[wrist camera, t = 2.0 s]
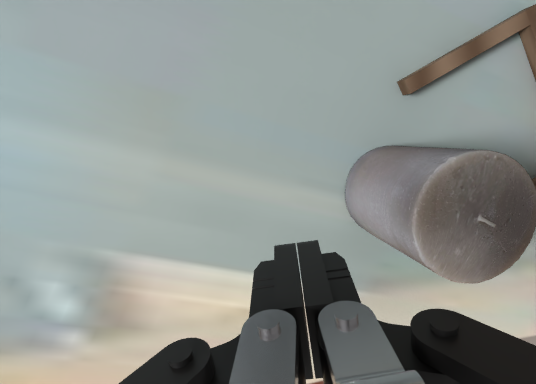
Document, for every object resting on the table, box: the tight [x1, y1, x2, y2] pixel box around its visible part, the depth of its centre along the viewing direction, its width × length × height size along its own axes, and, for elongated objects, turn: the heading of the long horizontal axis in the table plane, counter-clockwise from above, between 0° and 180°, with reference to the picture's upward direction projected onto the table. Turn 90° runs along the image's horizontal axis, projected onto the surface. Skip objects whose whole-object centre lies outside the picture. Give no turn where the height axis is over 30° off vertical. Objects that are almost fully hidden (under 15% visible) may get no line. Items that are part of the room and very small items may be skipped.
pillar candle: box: [345, 146, 536, 283], centre depth 30 cm, size 10×10×15 cm
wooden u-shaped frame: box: [397, 4, 536, 189], centre depth 37 cm, size 16×19×2 cm
